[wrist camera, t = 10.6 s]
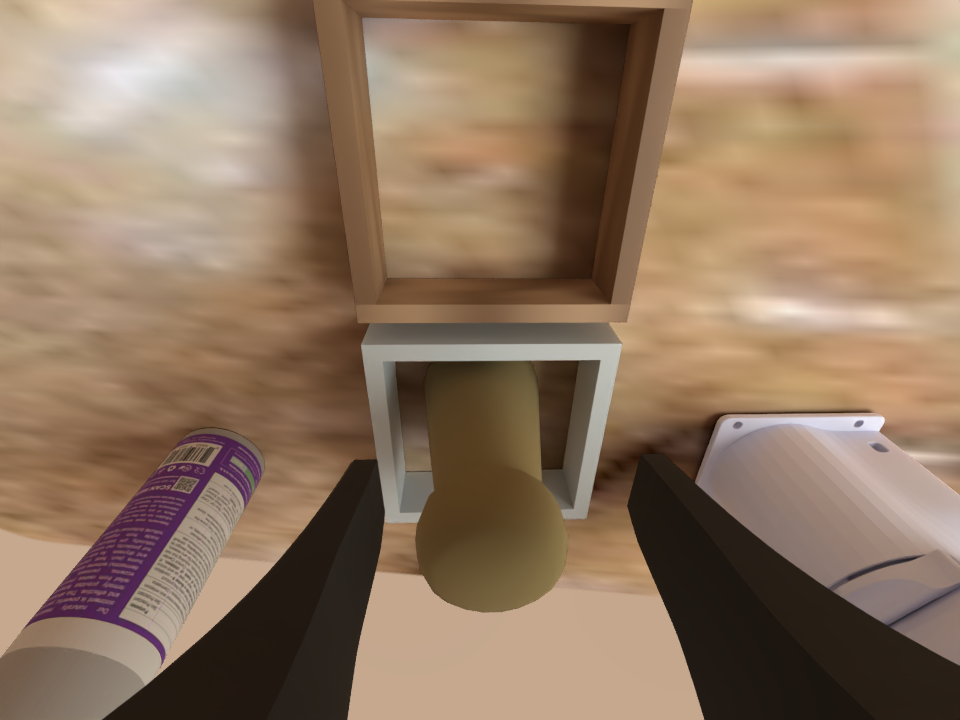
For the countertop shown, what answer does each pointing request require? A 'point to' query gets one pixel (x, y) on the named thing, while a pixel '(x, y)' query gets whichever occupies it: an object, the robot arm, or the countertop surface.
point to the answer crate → (491, 343)
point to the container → (132, 586)
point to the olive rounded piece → (487, 489)
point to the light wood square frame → (630, 180)
